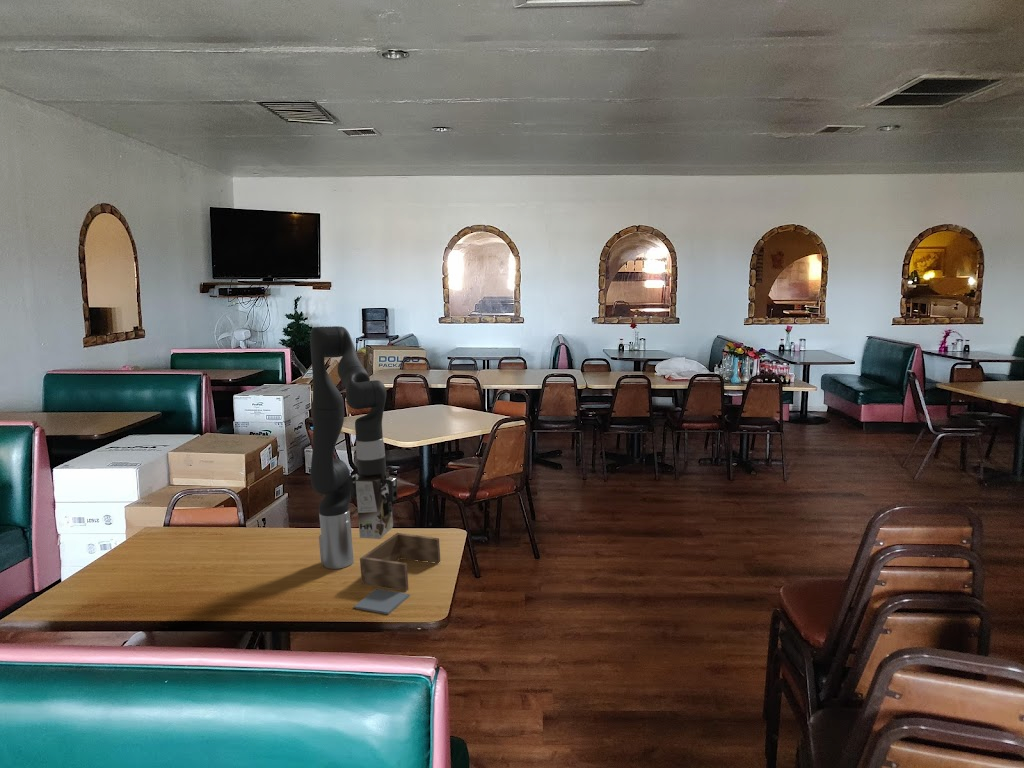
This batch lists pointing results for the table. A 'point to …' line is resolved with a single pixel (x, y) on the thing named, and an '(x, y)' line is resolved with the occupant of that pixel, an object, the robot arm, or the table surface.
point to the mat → (382, 601)
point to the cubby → (382, 559)
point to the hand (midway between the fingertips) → (375, 513)
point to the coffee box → (372, 508)
